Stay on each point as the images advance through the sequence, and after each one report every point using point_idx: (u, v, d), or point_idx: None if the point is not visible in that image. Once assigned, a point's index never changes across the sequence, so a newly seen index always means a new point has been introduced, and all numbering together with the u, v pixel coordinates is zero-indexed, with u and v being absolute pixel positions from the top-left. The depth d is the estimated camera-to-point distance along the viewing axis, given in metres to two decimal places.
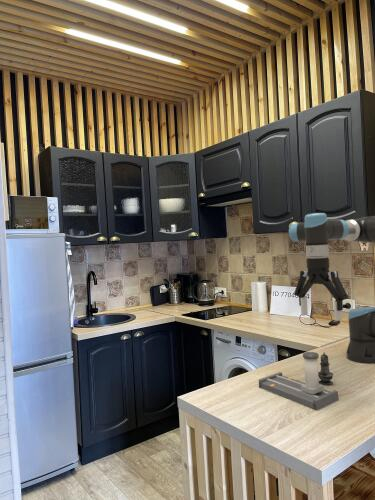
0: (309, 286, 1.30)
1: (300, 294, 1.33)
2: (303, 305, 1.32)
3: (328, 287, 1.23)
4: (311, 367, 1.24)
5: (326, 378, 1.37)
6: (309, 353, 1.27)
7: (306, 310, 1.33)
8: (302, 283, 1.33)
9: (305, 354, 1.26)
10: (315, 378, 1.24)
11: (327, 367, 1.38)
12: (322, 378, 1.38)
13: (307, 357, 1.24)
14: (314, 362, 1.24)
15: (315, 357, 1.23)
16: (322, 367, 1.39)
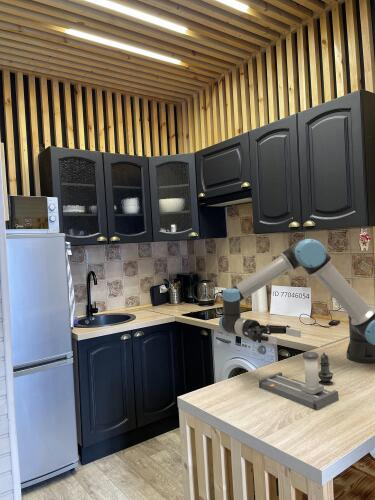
0: (273, 330, 1.45)
1: None
2: (291, 334, 1.40)
3: None
4: (311, 367, 1.24)
5: (326, 378, 1.37)
6: (309, 353, 1.27)
7: (296, 331, 1.38)
8: None
9: (305, 354, 1.26)
10: (315, 378, 1.24)
11: (327, 367, 1.38)
12: (322, 378, 1.38)
13: (307, 357, 1.24)
14: (314, 362, 1.24)
15: (315, 357, 1.23)
16: (322, 367, 1.39)
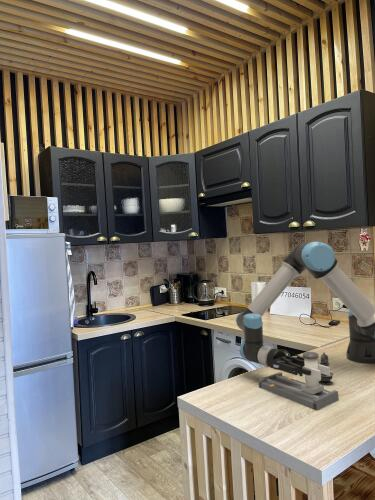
0: (298, 363, 1.32)
1: None
2: None
3: None
4: (311, 367, 1.24)
5: (326, 378, 1.37)
6: (309, 353, 1.27)
7: (324, 368, 1.24)
8: None
9: (305, 354, 1.26)
10: (315, 378, 1.24)
11: None
12: (322, 378, 1.38)
13: (307, 357, 1.24)
14: (314, 362, 1.24)
15: (315, 357, 1.23)
16: None
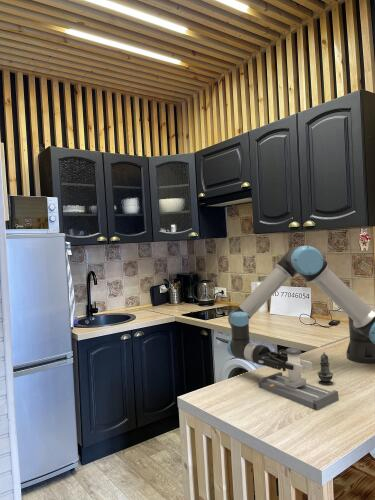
0: (282, 359, 1.38)
1: None
2: None
3: None
4: (294, 362, 1.30)
5: (326, 378, 1.37)
6: (292, 349, 1.33)
7: (306, 363, 1.30)
8: None
9: (288, 350, 1.32)
10: (297, 372, 1.30)
11: (327, 367, 1.38)
12: (322, 378, 1.38)
13: (290, 352, 1.30)
14: (296, 357, 1.30)
15: (297, 352, 1.29)
16: (322, 367, 1.39)
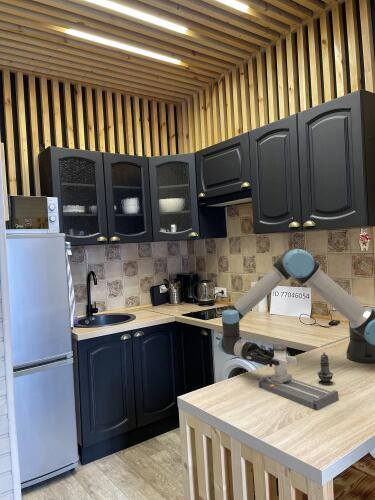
0: (270, 355, 1.44)
1: None
2: (287, 361, 1.37)
3: None
4: (279, 357, 1.35)
5: (326, 378, 1.37)
6: (278, 345, 1.38)
7: (292, 359, 1.35)
8: None
9: (274, 346, 1.37)
10: (283, 368, 1.35)
11: (327, 367, 1.38)
12: (322, 378, 1.38)
13: (276, 349, 1.35)
14: (282, 353, 1.35)
15: (283, 349, 1.35)
16: (322, 367, 1.39)
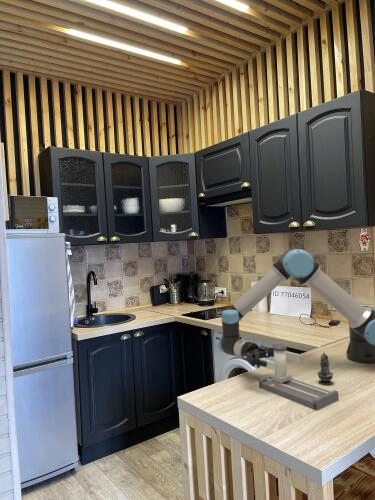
0: (272, 353, 1.46)
1: None
2: (290, 357, 1.42)
3: None
4: (279, 357, 1.35)
5: (326, 378, 1.37)
6: (278, 345, 1.38)
7: (294, 355, 1.40)
8: None
9: (274, 346, 1.37)
10: (283, 368, 1.35)
11: (327, 367, 1.38)
12: (322, 378, 1.38)
13: (276, 349, 1.35)
14: (282, 353, 1.35)
15: (283, 349, 1.35)
16: (322, 367, 1.39)
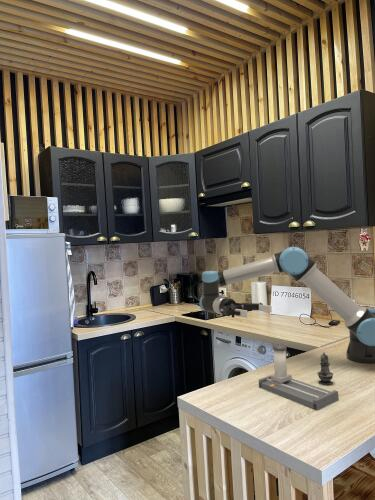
0: (247, 307, 1.56)
1: None
2: (263, 309, 1.52)
3: None
4: (279, 357, 1.35)
5: (326, 378, 1.37)
6: (278, 345, 1.38)
7: (267, 307, 1.50)
8: None
9: (274, 346, 1.37)
10: (283, 368, 1.35)
11: (327, 367, 1.38)
12: (322, 378, 1.38)
13: (276, 349, 1.35)
14: (282, 353, 1.35)
15: (283, 349, 1.35)
16: (322, 367, 1.39)
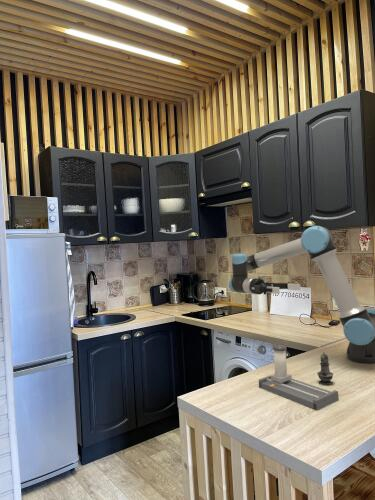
0: (276, 286, 1.67)
1: (286, 288, 1.66)
2: (292, 288, 1.63)
3: None
4: (279, 357, 1.35)
5: (326, 378, 1.37)
6: (278, 345, 1.38)
7: (296, 285, 1.61)
8: None
9: (274, 346, 1.37)
10: (283, 368, 1.35)
11: (327, 367, 1.38)
12: (322, 378, 1.38)
13: (276, 349, 1.35)
14: (282, 353, 1.35)
15: (283, 349, 1.35)
16: (322, 367, 1.39)
